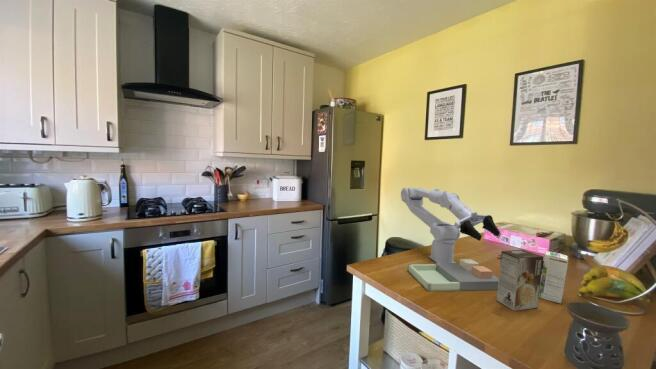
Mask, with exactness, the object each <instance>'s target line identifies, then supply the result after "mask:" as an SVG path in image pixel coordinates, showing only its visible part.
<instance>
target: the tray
mask: <svg viewBox="0 0 656 369" xmlns="http://www.w3.org/2000/svg"><path fill="white" fill-rule="evenodd" d="M407 271H408V273H409V274H410V275H411V276H412V277H413V278H414V279H415V280H416V281H418V282H419V284H421V286H422V287H424V289H425V290H426V291H427V292H445V291H446V292H448V291H449V292H453V291H456V292H457V291H459V288H460V283H459V282H450V281H449V280H447V279H446V278H445V277H444V276H442V275H441V274H440V273H439V272H437V271H436V265H435V263H434V264H433V263H431V264H429V263H428V264H427V263H426V264H425V263H424V264H418V263H417V264H408V266H407Z"/></svg>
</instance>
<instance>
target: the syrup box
mask: <svg viewBox="0 0 656 369" xmlns="http://www.w3.org/2000/svg"><path fill="white" fill-rule="evenodd" d="M543 260H544V265H543V270H542V274H541V282H540V290H539V299H543V300H546V301H549V302H553V303H557V304H560V305H561V304H562V302H563V296H564V291H565V290H564V289H565V284H566V283H565V282H566V277H567V272H568V266H569V265H568V264H569V256H568V255H565V254H562V253H558V252H554V251H547V250H546V251H545V255H544V258H543Z"/></svg>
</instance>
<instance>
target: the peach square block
mask: <svg viewBox="0 0 656 369" xmlns="http://www.w3.org/2000/svg"><path fill="white" fill-rule="evenodd" d="M471 273H472V274H474V275H475V276H477V277H478V278H480V279H481V278H492V274H493V271H492V270H491V269H489V268H487V267H486V266H484V265H479V266H472V271H471Z"/></svg>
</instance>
